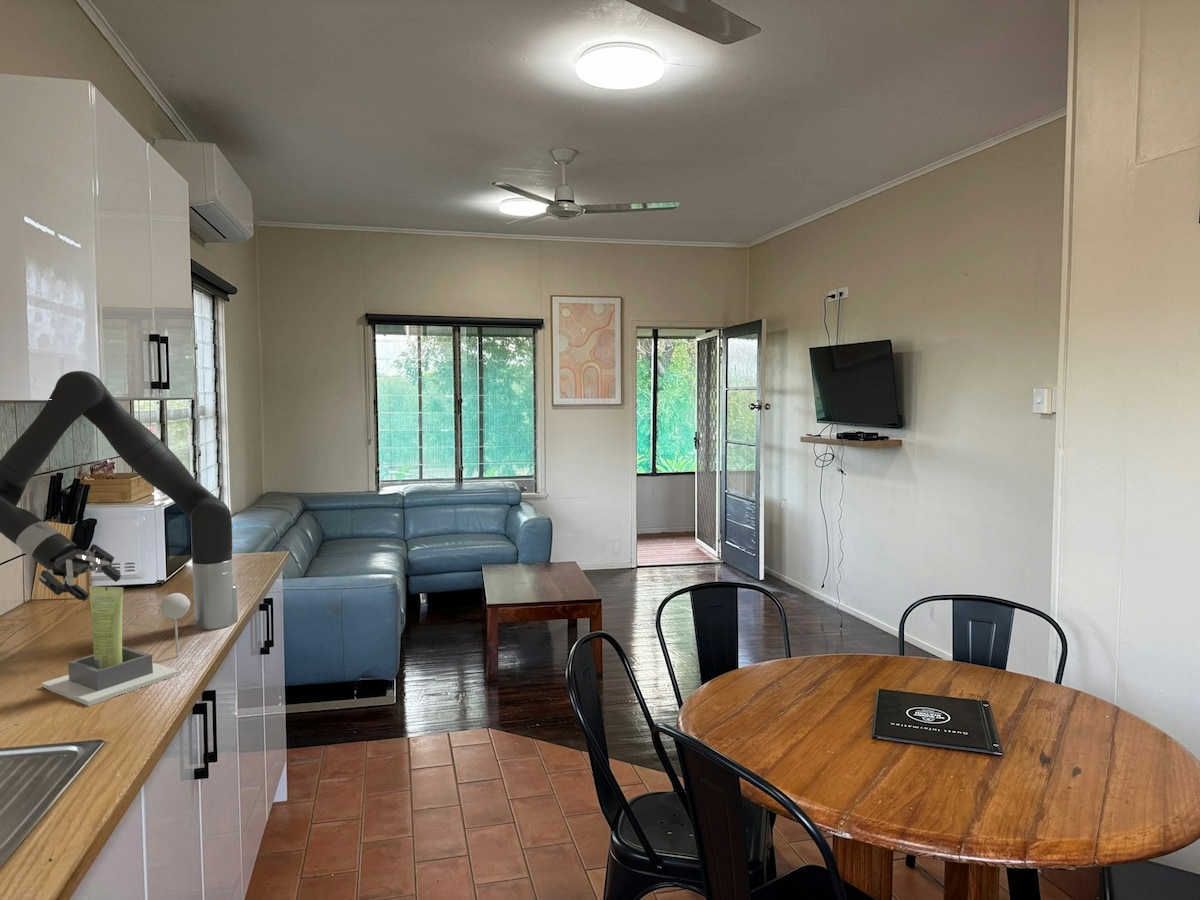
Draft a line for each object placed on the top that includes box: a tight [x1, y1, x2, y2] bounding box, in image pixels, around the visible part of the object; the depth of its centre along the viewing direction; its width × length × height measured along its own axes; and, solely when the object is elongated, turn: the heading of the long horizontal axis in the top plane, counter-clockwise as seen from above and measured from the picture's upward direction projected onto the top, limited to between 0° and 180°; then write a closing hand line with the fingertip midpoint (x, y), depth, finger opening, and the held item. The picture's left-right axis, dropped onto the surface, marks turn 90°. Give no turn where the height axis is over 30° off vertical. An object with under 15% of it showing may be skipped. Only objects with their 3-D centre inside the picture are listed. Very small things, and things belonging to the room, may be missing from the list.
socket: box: [41, 645, 180, 707], centre depth 157 cm, size 18×18×5 cm
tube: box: [88, 585, 124, 669], centre depth 156 cm, size 6×5×20 cm
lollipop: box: [159, 592, 191, 657], centre depth 171 cm, size 6×6×15 cm
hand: (103, 588), depth 169 cm, fingers open, 8 cm apart
